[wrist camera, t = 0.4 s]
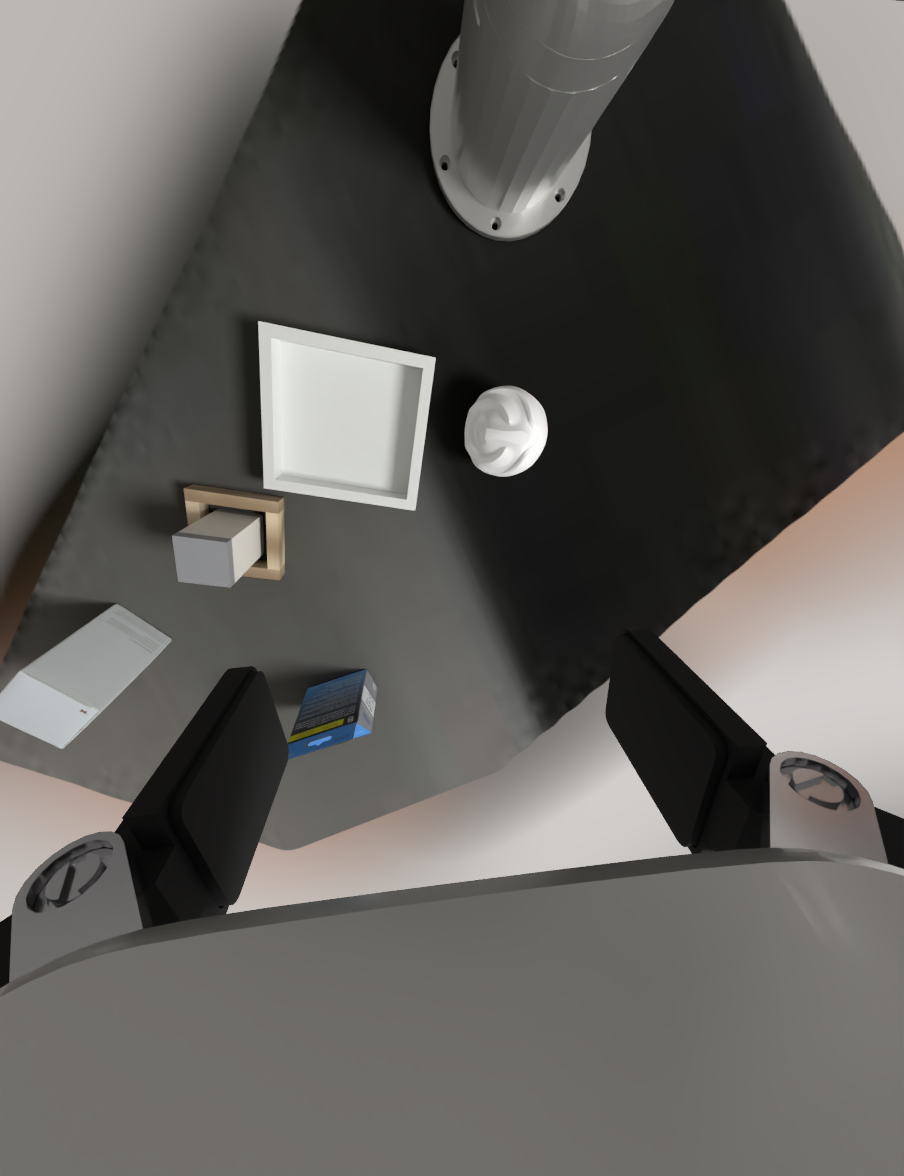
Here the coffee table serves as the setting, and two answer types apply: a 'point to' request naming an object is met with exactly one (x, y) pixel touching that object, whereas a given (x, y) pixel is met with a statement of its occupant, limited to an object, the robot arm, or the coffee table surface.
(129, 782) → the coffee table surface
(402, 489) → the parts tray
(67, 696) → the supplement box
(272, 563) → the tan wooden flat frame
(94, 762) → the coffee table surface
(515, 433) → the white grooved ball
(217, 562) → the grey white rectangular block
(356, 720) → the label tape cartridge
